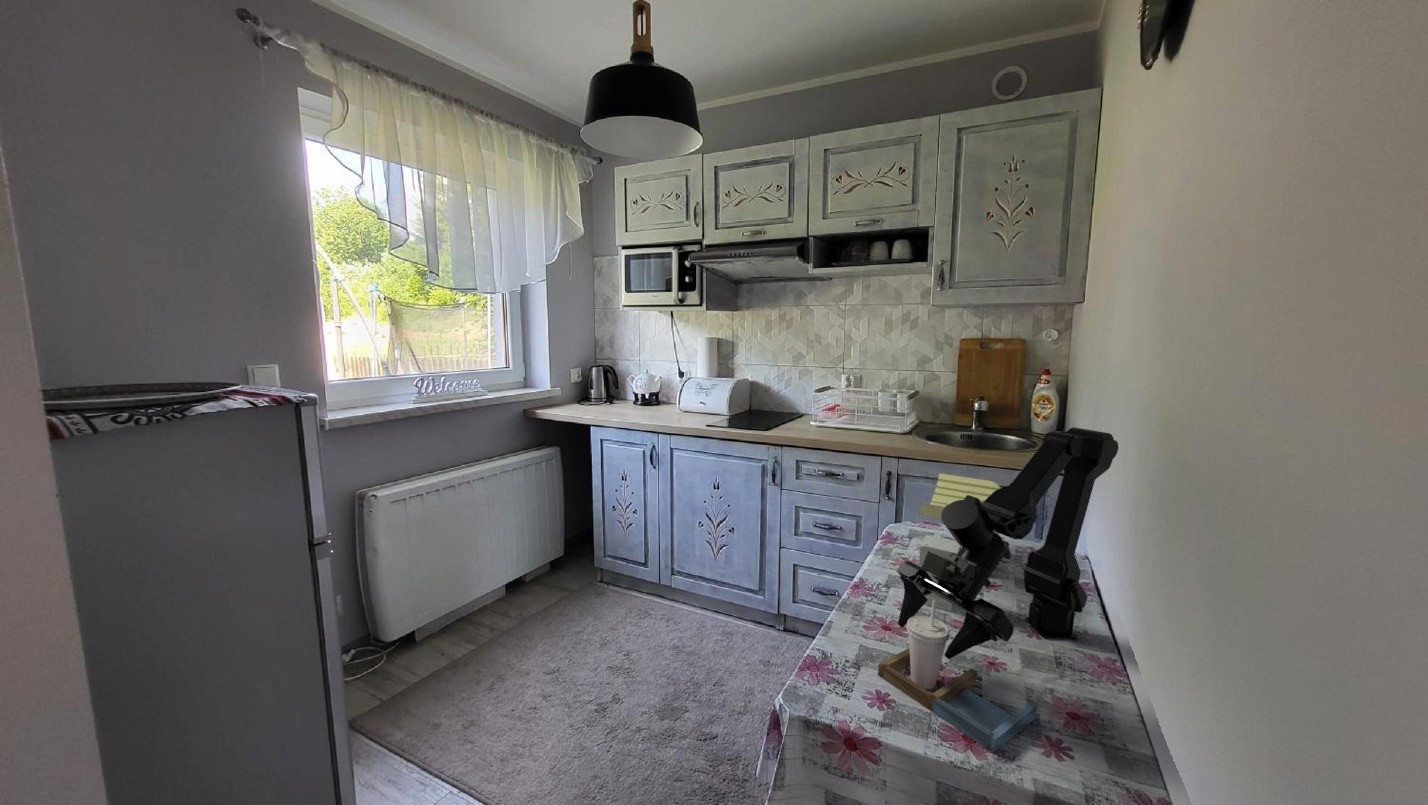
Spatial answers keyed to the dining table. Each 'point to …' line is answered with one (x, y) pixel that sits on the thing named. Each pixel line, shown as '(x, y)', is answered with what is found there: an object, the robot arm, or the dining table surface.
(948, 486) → the slatted curved stool
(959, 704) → the blue and brown frame
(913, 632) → the smoothie
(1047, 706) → the dining table surface
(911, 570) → the robot arm
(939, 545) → the supplement box
